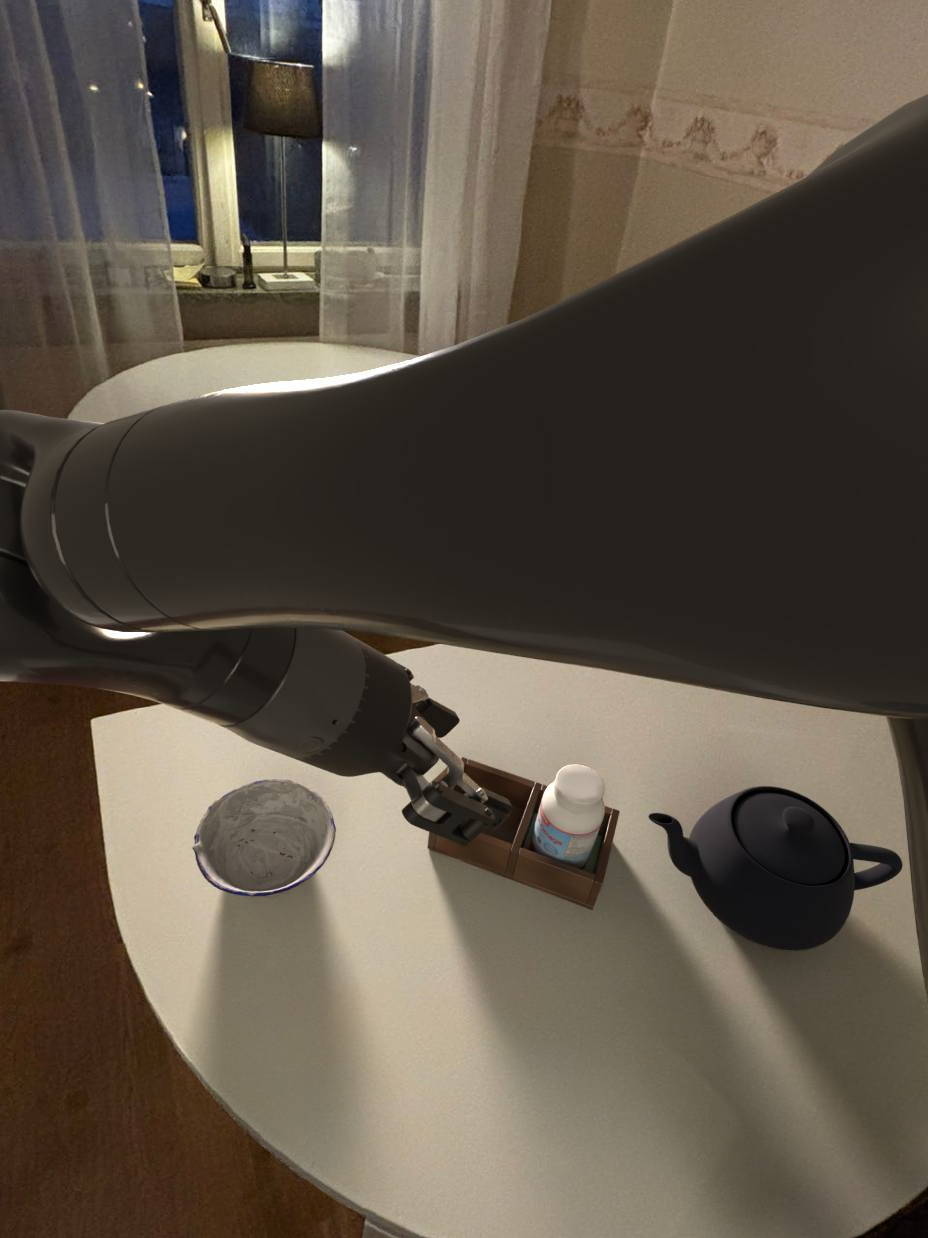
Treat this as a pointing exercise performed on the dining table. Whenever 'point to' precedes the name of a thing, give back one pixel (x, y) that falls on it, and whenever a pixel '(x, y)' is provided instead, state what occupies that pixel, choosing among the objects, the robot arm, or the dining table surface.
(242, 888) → the bowl
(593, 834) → the pill bottle
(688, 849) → the teapot
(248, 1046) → the dining table surface
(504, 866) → the wooden compartment box
